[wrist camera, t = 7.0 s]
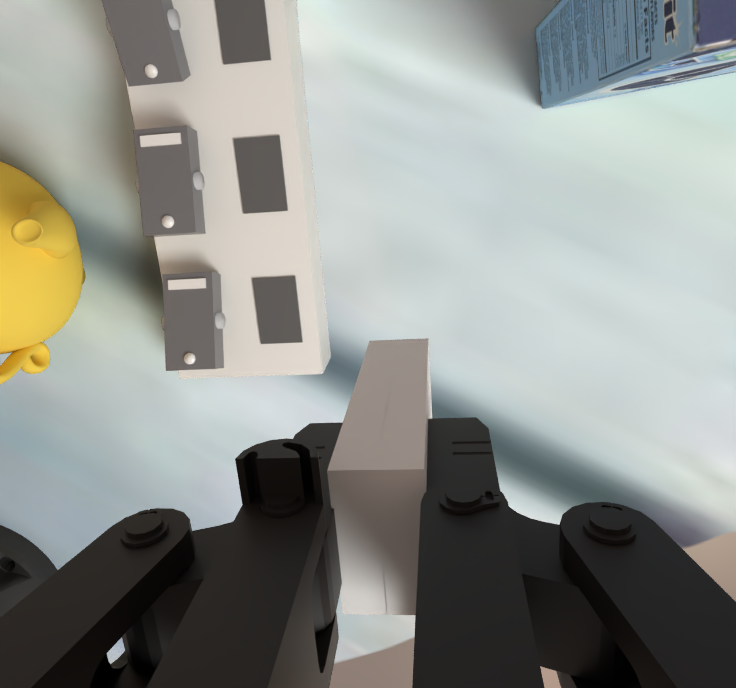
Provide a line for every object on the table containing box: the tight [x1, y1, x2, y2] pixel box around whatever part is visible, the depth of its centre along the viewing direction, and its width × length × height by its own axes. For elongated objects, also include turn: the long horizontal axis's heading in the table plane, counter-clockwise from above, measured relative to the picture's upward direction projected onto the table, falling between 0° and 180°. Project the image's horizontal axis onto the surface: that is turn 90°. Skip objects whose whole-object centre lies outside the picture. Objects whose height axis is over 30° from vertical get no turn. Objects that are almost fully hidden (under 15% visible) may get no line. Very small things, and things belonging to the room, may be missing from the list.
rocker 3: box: [161, 272, 226, 371], centre depth 38 cm, size 4×6×2 cm, turn 4°
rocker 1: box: [102, 0, 191, 87], centre depth 33 cm, size 4×6×2 cm, turn 4°
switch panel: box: [125, 0, 331, 379], centre depth 39 cm, size 10×26×4 cm, turn 4°
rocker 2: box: [134, 125, 206, 237], centre depth 36 cm, size 4×6×2 cm, turn 4°
